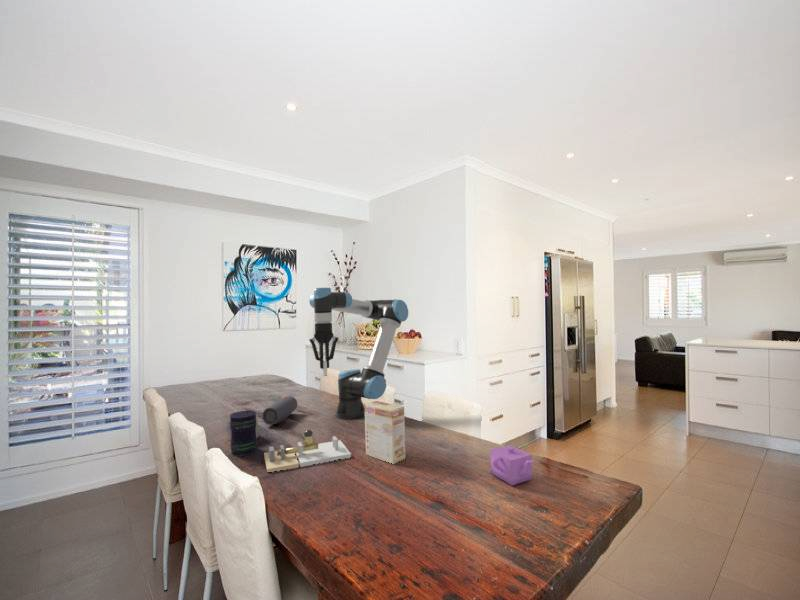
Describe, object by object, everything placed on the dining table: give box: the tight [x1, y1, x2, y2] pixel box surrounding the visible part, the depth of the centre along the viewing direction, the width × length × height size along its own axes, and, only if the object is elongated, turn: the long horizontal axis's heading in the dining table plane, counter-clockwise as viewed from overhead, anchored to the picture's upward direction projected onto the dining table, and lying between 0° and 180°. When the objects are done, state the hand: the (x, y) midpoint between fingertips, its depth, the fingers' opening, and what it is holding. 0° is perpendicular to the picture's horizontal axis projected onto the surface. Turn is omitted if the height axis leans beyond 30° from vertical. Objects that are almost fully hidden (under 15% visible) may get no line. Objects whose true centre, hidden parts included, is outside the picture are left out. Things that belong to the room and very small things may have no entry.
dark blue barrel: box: [229, 410, 258, 457], centre depth 158 cm, size 10×10×15 cm
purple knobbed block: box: [489, 444, 534, 486], centre depth 127 cm, size 18×14×10 cm
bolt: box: [276, 429, 319, 456], centre depth 149 cm, size 15×3×8 cm, turn 113°
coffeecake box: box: [364, 400, 406, 465], centre depth 148 cm, size 15×7×20 cm, turn 47°
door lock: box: [263, 435, 352, 473], centre depth 150 cm, size 30×16×6 cm, turn 113°
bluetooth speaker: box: [261, 395, 298, 426], centre depth 198 cm, size 23×9×10 cm, turn 172°
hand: (324, 375), depth 174 cm, fingers closed
